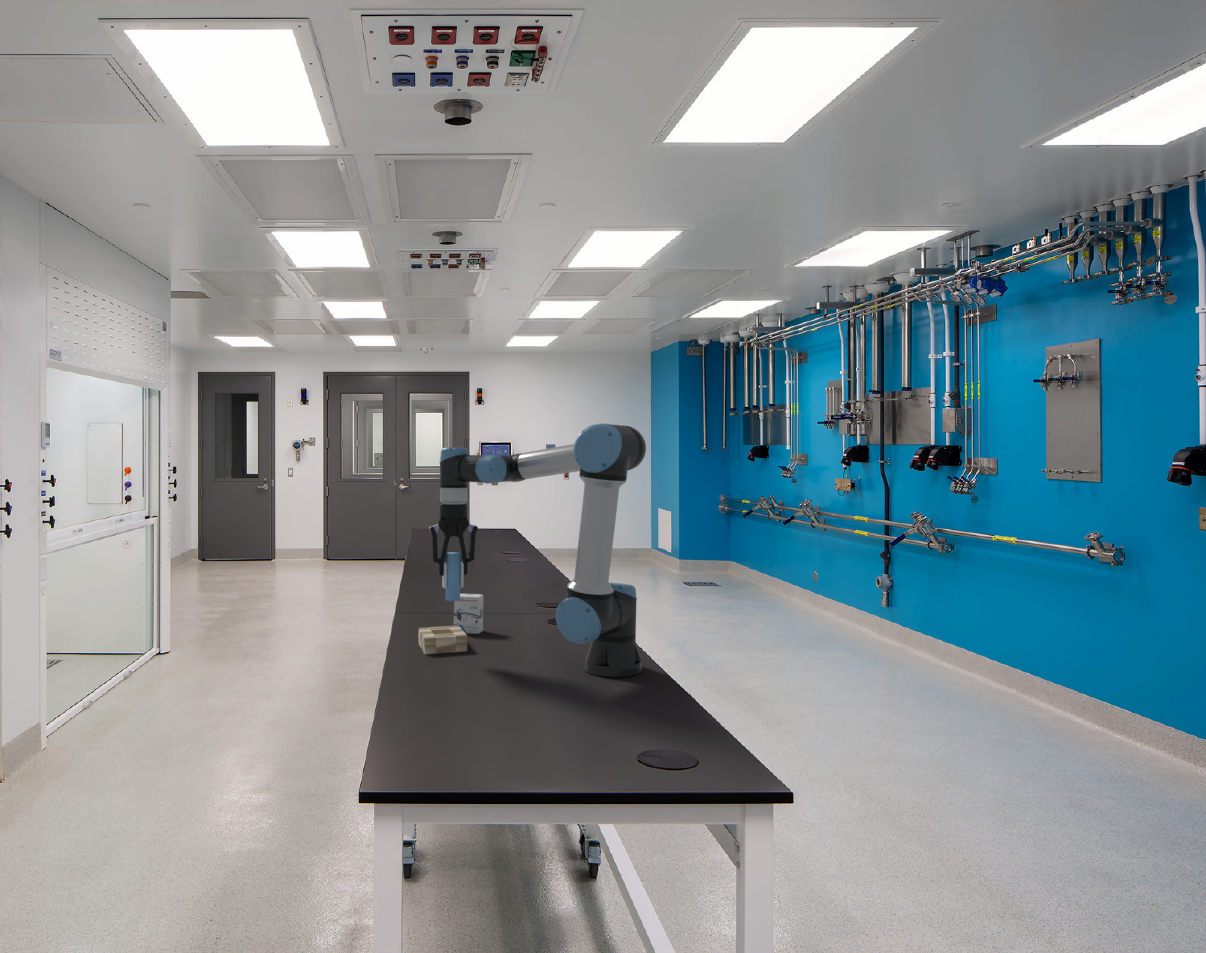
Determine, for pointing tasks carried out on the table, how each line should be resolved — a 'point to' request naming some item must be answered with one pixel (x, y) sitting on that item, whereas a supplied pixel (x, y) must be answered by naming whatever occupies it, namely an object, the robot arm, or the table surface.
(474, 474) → the robot arm
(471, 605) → the ink box
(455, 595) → the peg
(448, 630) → the socket block
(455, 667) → the table surface
